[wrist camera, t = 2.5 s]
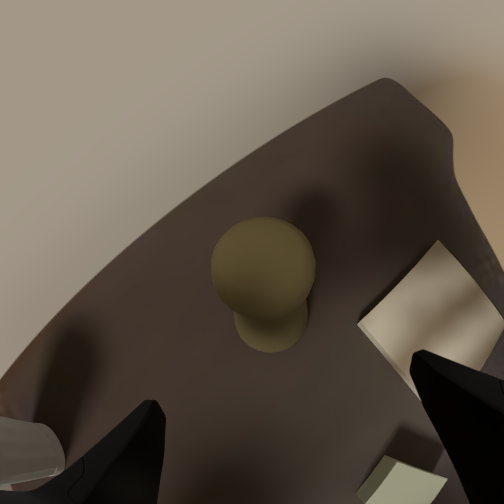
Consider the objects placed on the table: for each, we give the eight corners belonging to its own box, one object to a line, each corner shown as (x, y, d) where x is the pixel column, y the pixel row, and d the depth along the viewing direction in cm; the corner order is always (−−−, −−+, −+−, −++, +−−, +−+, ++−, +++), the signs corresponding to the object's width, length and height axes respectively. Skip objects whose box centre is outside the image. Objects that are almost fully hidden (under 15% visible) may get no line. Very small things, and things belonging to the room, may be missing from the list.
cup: (39, 402, 19) (-48, 382, 8) (80, 458, 16) (-15, 464, 5) (19, 440, 16) (-57, 429, 5) (57, 492, 13) (-23, 501, 3)
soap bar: (431, 472, 13) (447, 478, 10) (405, 508, 11) (418, 518, 9) (383, 454, 15) (397, 461, 12) (354, 492, 13) (364, 504, 11)
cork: (297, 361, 20) (312, 334, 10) (224, 340, 21) (173, 294, 11) (315, 291, 22) (338, 210, 13) (247, 274, 24) (221, 188, 14)
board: (500, 326, 17) (506, 323, 17) (436, 421, 15) (442, 421, 14) (433, 244, 23) (437, 239, 22) (356, 324, 20) (360, 321, 19)
